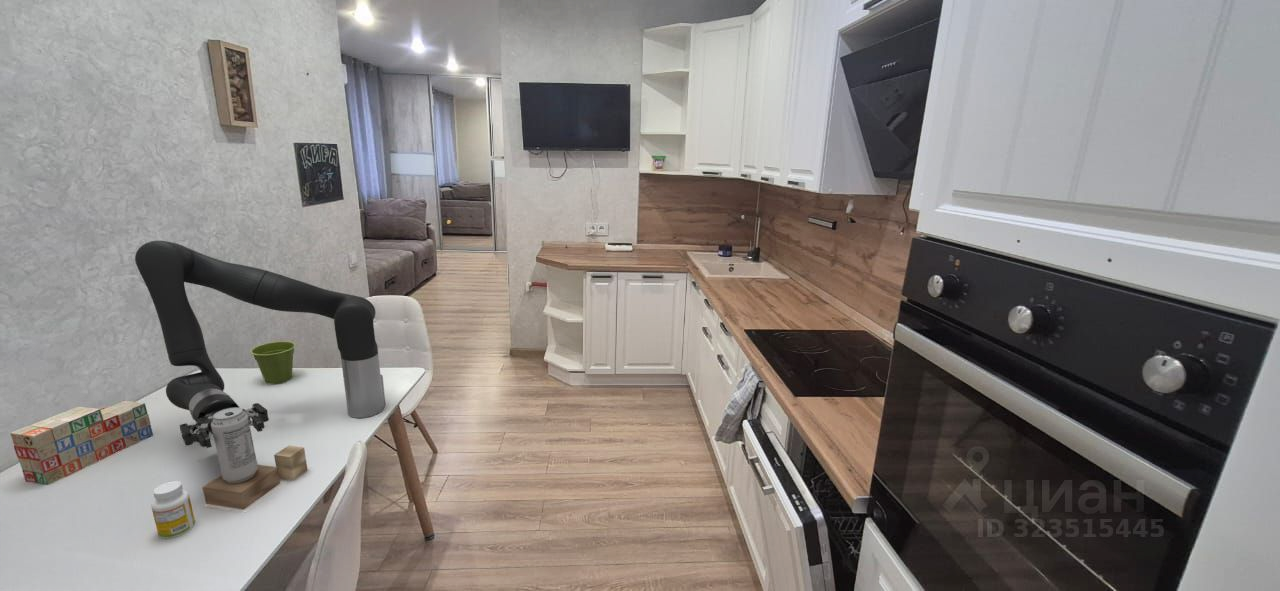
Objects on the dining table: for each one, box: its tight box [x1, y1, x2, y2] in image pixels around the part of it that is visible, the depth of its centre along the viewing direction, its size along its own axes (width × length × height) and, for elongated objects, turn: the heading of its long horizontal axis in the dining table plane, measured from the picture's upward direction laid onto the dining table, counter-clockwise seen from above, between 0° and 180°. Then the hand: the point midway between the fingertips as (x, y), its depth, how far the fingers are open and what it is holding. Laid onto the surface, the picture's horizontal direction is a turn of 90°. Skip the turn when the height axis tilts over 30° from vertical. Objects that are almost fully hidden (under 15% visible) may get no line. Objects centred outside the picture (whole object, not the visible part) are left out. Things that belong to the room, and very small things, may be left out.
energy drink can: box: [211, 407, 259, 483], centre depth 107 cm, size 6×6×15 cm
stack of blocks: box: [10, 400, 154, 486], centre depth 120 cm, size 21×6×12 cm, turn 170°
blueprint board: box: [202, 480, 287, 513], centre depth 111 cm, size 16×11×1 cm
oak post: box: [273, 444, 308, 481], centre depth 116 cm, size 4×4×6 cm
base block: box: [202, 464, 281, 509], centre depth 109 cm, size 9×9×4 cm
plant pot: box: [249, 340, 297, 385], centre depth 163 cm, size 12×12×11 cm
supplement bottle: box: [151, 480, 196, 539], centre depth 98 cm, size 5×5×10 cm
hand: (235, 435), depth 105 cm, fingers open, 8 cm apart
